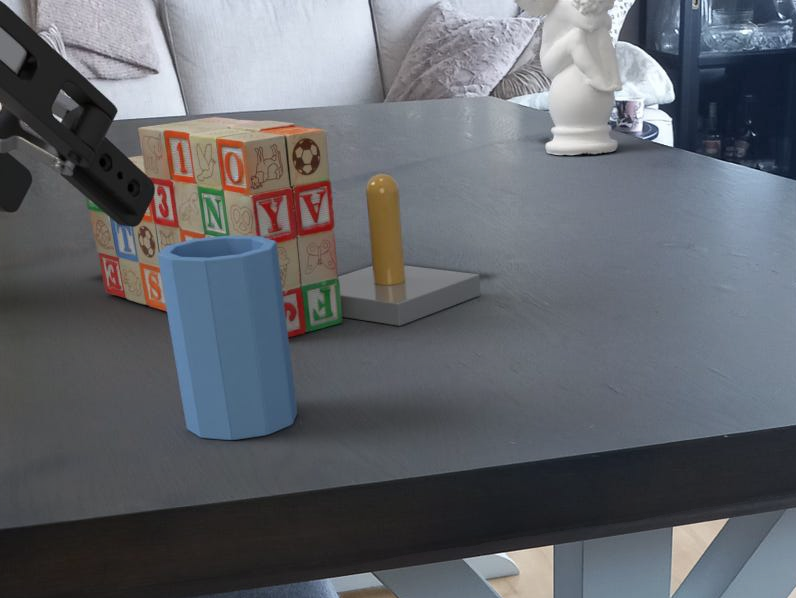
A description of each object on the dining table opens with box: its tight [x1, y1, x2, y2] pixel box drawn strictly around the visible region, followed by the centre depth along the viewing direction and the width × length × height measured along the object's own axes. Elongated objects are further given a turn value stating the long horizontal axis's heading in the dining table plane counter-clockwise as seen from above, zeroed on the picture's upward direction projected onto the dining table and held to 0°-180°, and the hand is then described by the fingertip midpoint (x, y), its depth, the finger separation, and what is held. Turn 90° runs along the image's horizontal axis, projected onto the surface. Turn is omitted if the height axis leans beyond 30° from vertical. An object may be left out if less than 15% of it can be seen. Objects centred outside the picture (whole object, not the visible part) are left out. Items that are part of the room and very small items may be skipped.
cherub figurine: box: [513, 0, 623, 156], centre depth 140 cm, size 12×12×22 cm
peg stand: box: [337, 173, 481, 327], centre depth 83 cm, size 9×9×9 cm
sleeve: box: [157, 235, 298, 441], centre depth 62 cm, size 6×6×9 cm
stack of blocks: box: [84, 116, 343, 339], centre depth 83 cm, size 21×6×12 cm, turn 44°
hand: (78, 201), depth 53 cm, fingers open, 8 cm apart
